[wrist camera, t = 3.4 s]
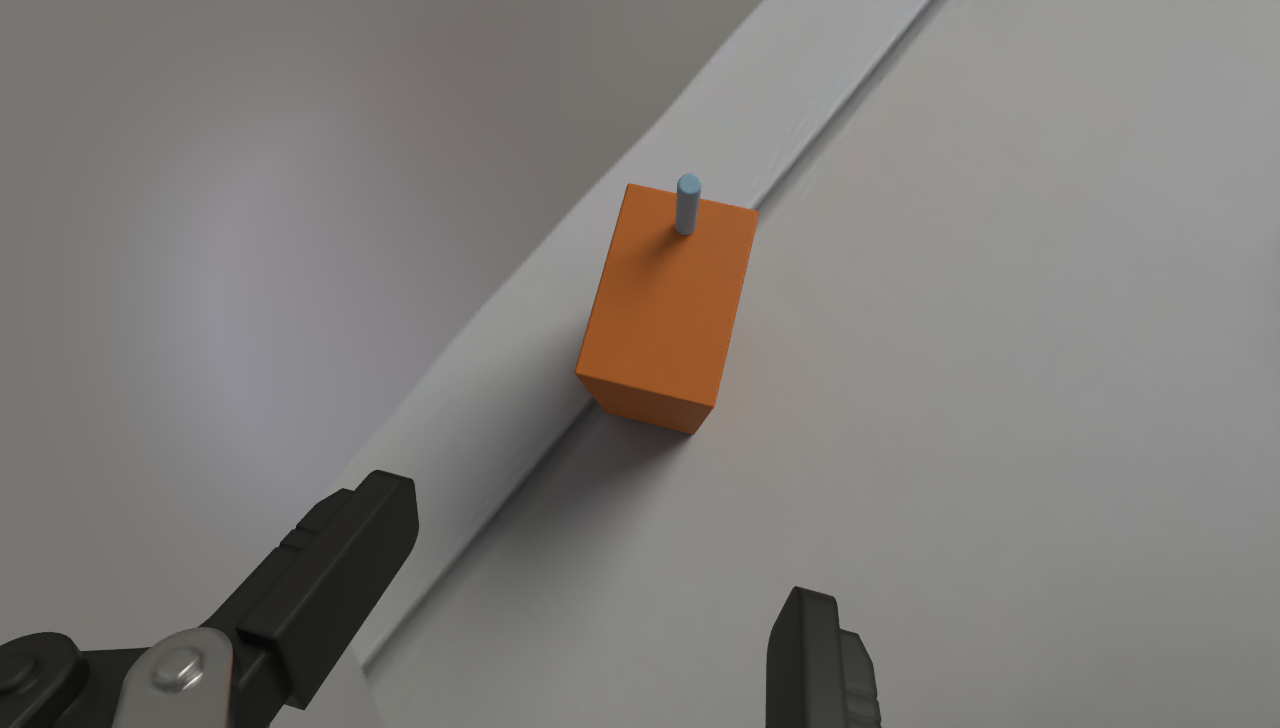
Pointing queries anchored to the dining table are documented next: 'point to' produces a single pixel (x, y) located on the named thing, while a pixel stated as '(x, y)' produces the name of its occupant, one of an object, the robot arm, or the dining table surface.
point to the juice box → (666, 306)
